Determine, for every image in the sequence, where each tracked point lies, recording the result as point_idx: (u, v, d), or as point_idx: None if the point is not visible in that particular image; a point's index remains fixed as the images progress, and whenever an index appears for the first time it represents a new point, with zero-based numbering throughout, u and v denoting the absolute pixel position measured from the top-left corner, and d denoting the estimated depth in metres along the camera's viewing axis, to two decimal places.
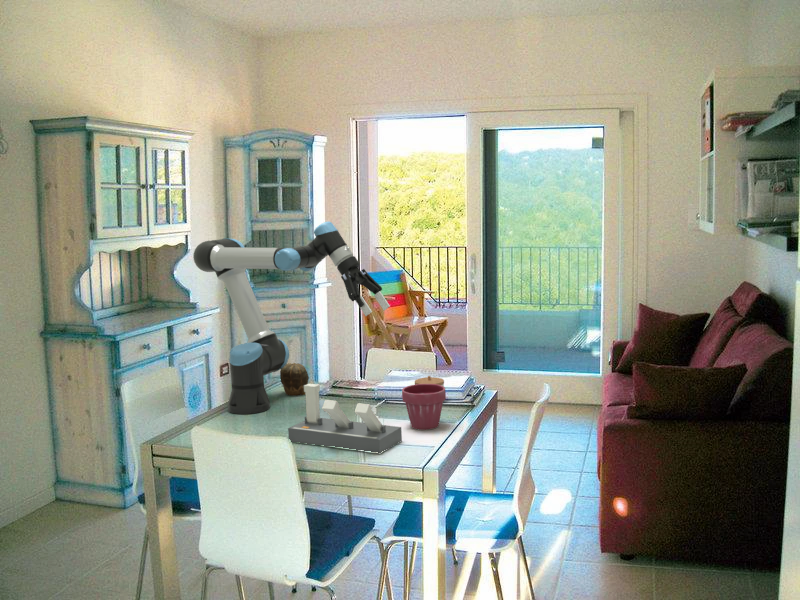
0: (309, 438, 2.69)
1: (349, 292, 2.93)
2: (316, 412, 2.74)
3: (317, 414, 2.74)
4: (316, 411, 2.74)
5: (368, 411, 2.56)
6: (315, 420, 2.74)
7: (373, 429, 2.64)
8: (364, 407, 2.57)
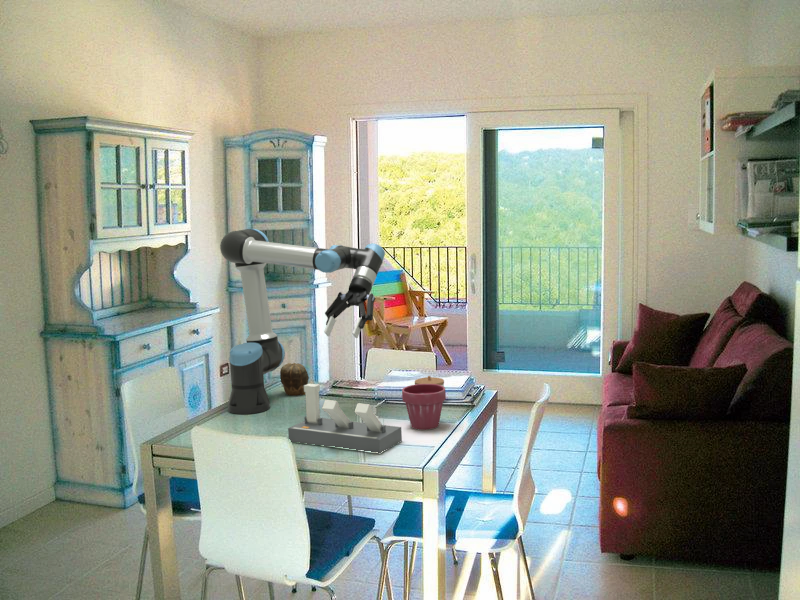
0: (309, 438, 2.69)
1: (371, 312, 2.89)
2: (316, 412, 2.74)
3: (317, 414, 2.74)
4: (316, 411, 2.74)
5: (368, 411, 2.56)
6: (315, 420, 2.74)
7: (373, 429, 2.64)
8: (364, 407, 2.57)
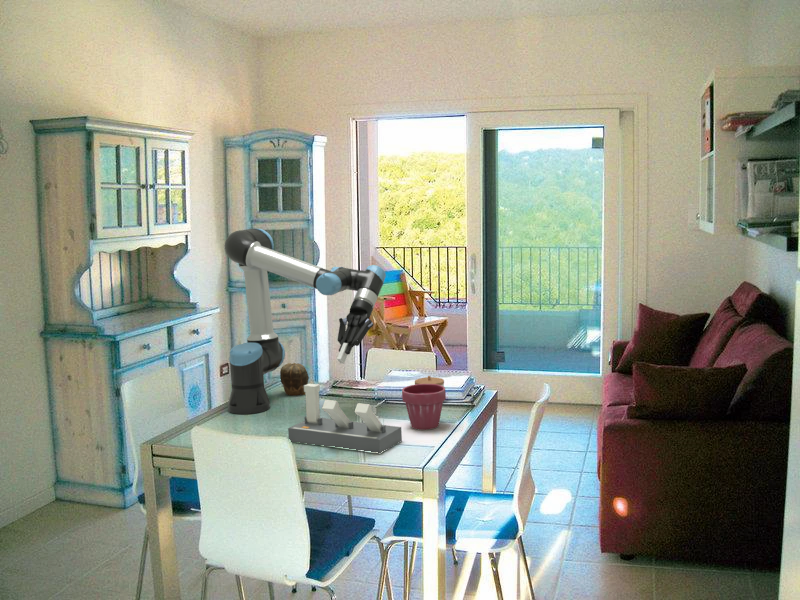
0: (309, 438, 2.69)
1: (359, 338, 2.91)
2: (316, 412, 2.74)
3: (317, 414, 2.74)
4: (316, 411, 2.74)
5: (368, 411, 2.56)
6: (315, 420, 2.74)
7: (373, 429, 2.64)
8: (364, 407, 2.57)
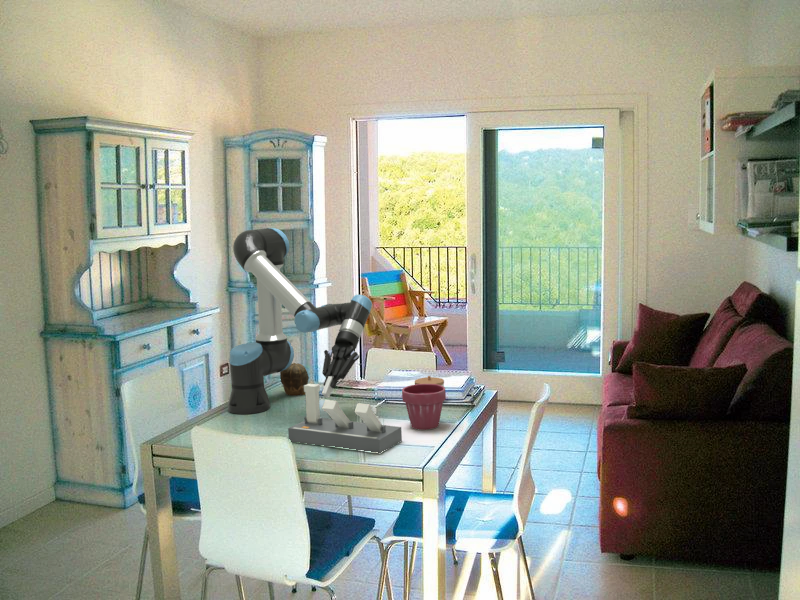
0: (309, 438, 2.69)
1: (344, 371, 2.83)
2: (316, 412, 2.74)
3: (317, 414, 2.74)
4: (316, 411, 2.74)
5: (368, 411, 2.56)
6: (315, 420, 2.74)
7: (373, 429, 2.64)
8: (364, 407, 2.57)
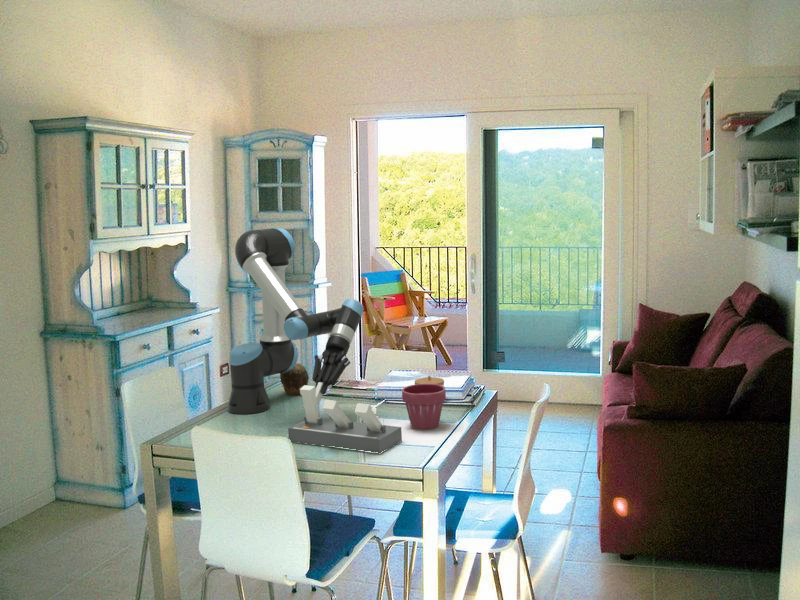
0: (309, 438, 2.69)
1: (335, 377, 2.78)
2: (315, 413, 2.73)
3: (316, 415, 2.74)
4: (315, 413, 2.73)
5: (368, 411, 2.56)
6: (315, 421, 2.74)
7: (373, 429, 2.64)
8: (364, 407, 2.57)
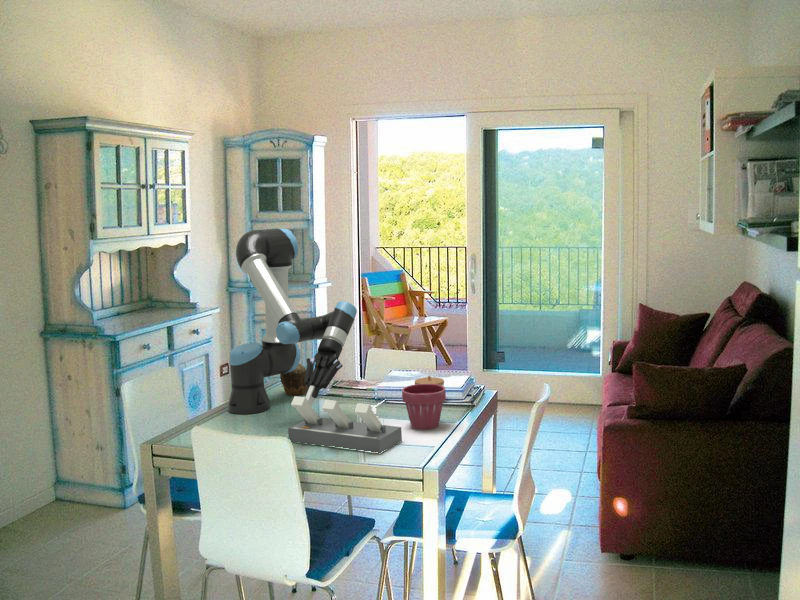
0: (309, 438, 2.69)
1: (327, 381, 2.75)
2: (313, 417, 2.73)
3: (315, 417, 2.73)
4: (313, 417, 2.72)
5: (368, 411, 2.56)
6: (315, 422, 2.74)
7: (373, 429, 2.64)
8: (364, 407, 2.57)
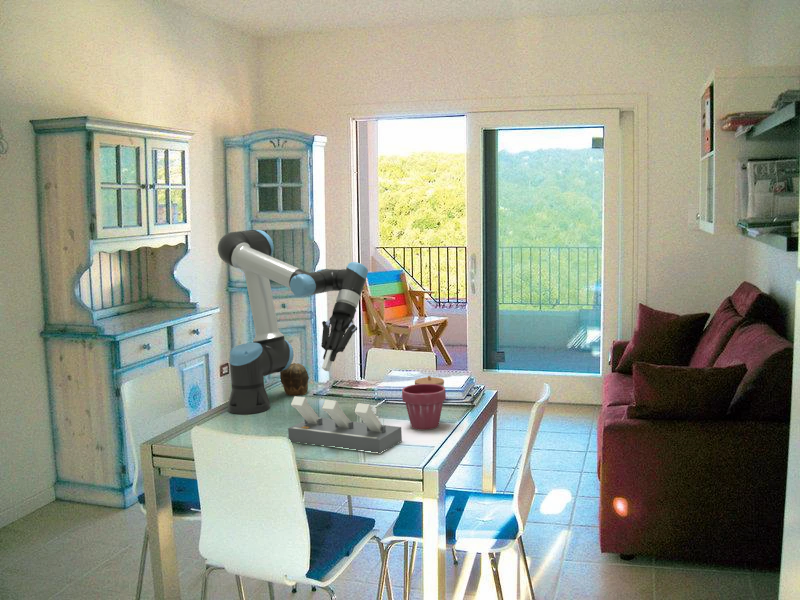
0: (309, 438, 2.69)
1: (343, 345, 2.86)
2: (313, 417, 2.73)
3: (315, 417, 2.73)
4: (313, 417, 2.72)
5: (368, 411, 2.56)
6: (315, 423, 2.74)
7: (373, 429, 2.64)
8: (364, 407, 2.57)
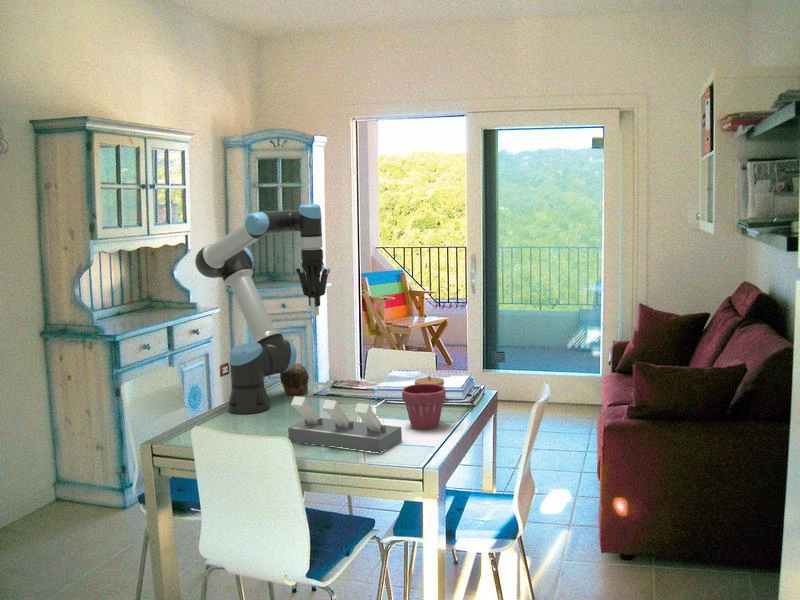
0: (309, 438, 2.69)
1: (323, 290, 3.01)
2: (313, 417, 2.73)
3: (315, 417, 2.73)
4: (313, 417, 2.72)
5: (368, 411, 2.56)
6: (315, 423, 2.74)
7: (373, 429, 2.64)
8: (364, 407, 2.57)
